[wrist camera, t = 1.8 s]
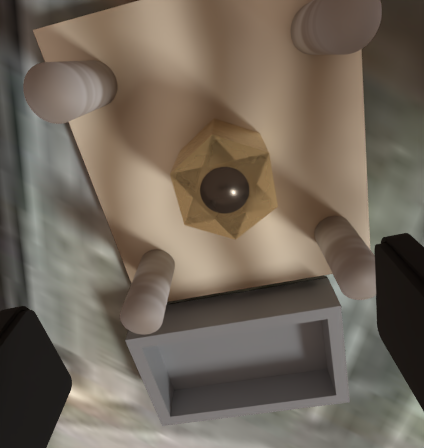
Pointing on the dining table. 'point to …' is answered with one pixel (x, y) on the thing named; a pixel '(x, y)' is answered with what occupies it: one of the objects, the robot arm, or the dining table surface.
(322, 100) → the spacer board
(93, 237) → the dining table surface
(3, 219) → the dining table surface
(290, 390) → the tray
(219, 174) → the tan faceted piece
